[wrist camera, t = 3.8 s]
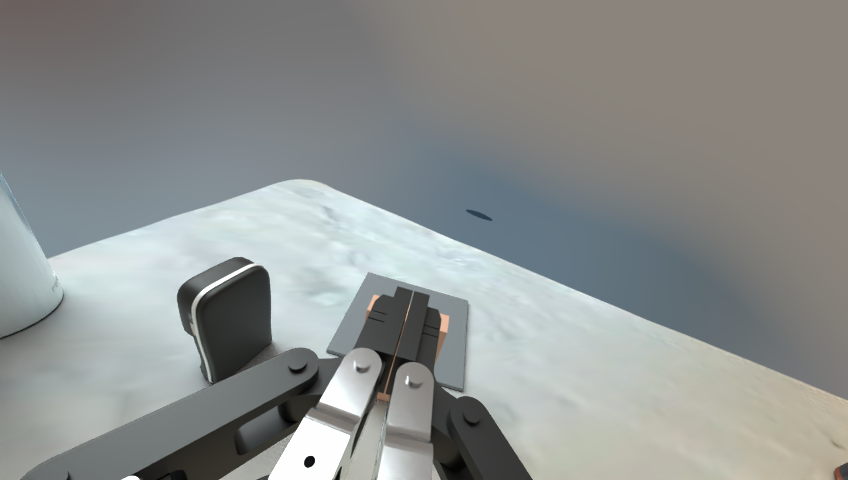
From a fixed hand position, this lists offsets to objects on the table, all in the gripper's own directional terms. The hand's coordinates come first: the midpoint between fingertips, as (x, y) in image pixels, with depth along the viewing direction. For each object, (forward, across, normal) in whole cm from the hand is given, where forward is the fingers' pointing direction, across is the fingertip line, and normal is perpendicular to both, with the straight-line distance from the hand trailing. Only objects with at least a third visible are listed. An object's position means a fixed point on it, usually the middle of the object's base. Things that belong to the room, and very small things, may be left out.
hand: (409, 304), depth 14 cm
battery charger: (+8, +17, +22) cm, 29 cm away
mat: (+19, 0, +22) cm, 29 cm away
